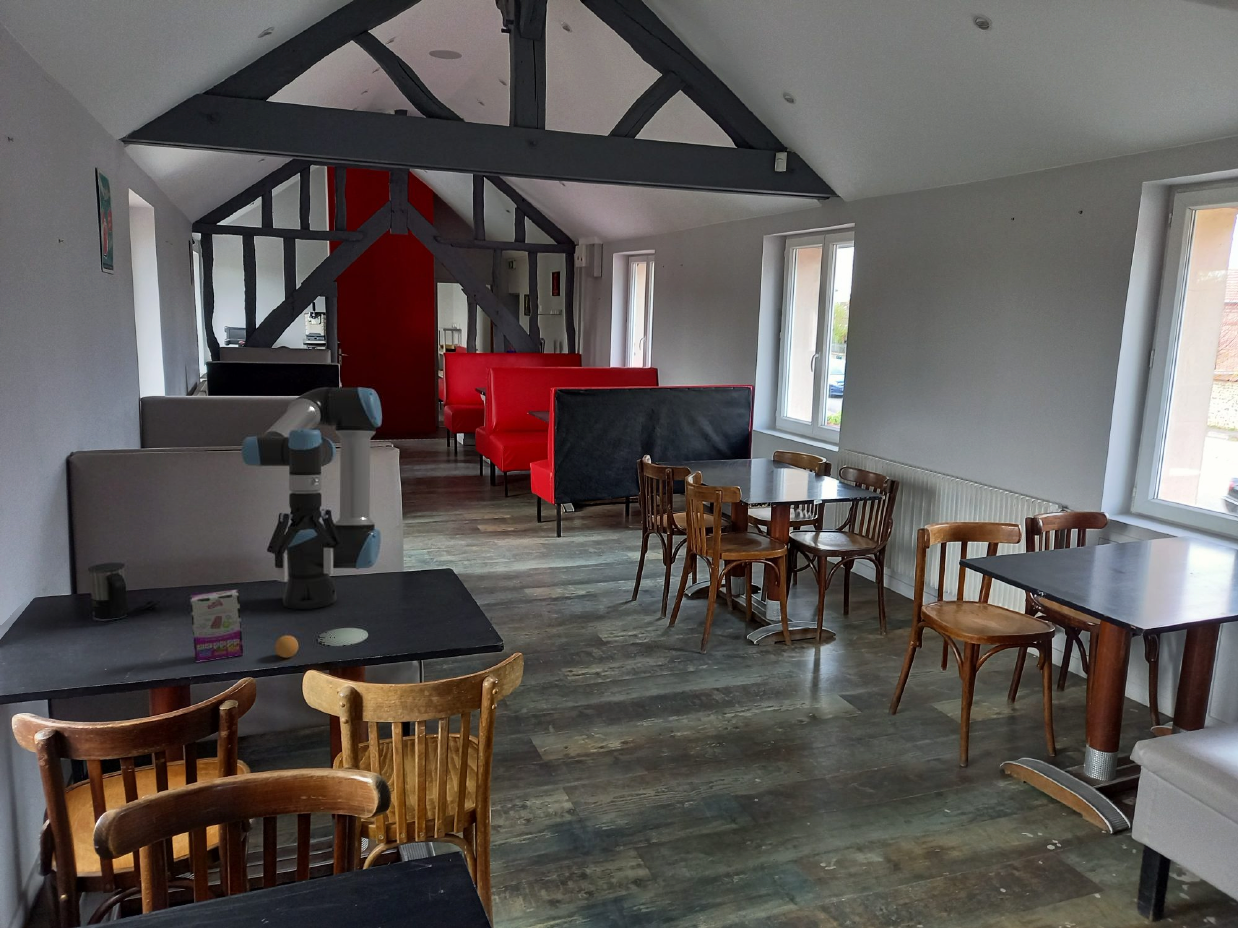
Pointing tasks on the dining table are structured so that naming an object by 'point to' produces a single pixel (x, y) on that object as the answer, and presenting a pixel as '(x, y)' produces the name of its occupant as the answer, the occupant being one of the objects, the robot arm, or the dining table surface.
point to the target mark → (343, 636)
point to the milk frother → (111, 591)
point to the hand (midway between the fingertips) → (306, 577)
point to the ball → (286, 646)
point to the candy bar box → (216, 625)
